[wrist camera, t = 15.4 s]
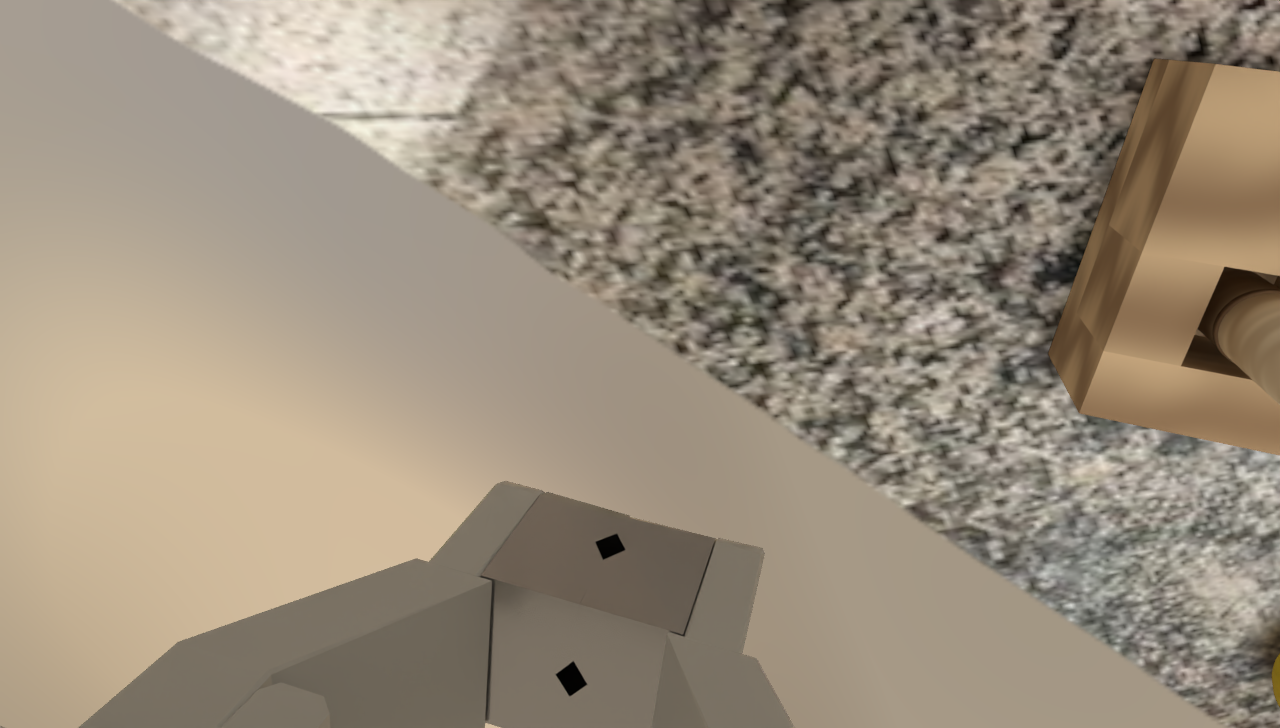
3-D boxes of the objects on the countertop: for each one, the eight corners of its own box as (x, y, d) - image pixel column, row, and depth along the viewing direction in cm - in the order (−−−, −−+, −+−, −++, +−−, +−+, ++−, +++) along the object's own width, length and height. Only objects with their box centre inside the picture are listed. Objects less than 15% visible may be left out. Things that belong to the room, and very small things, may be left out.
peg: (1188, 251, 35) (1325, 348, 24) (1267, 263, 34) (1445, 369, 23) (1161, 317, 36) (1280, 437, 25) (1237, 330, 35) (1393, 459, 25)
